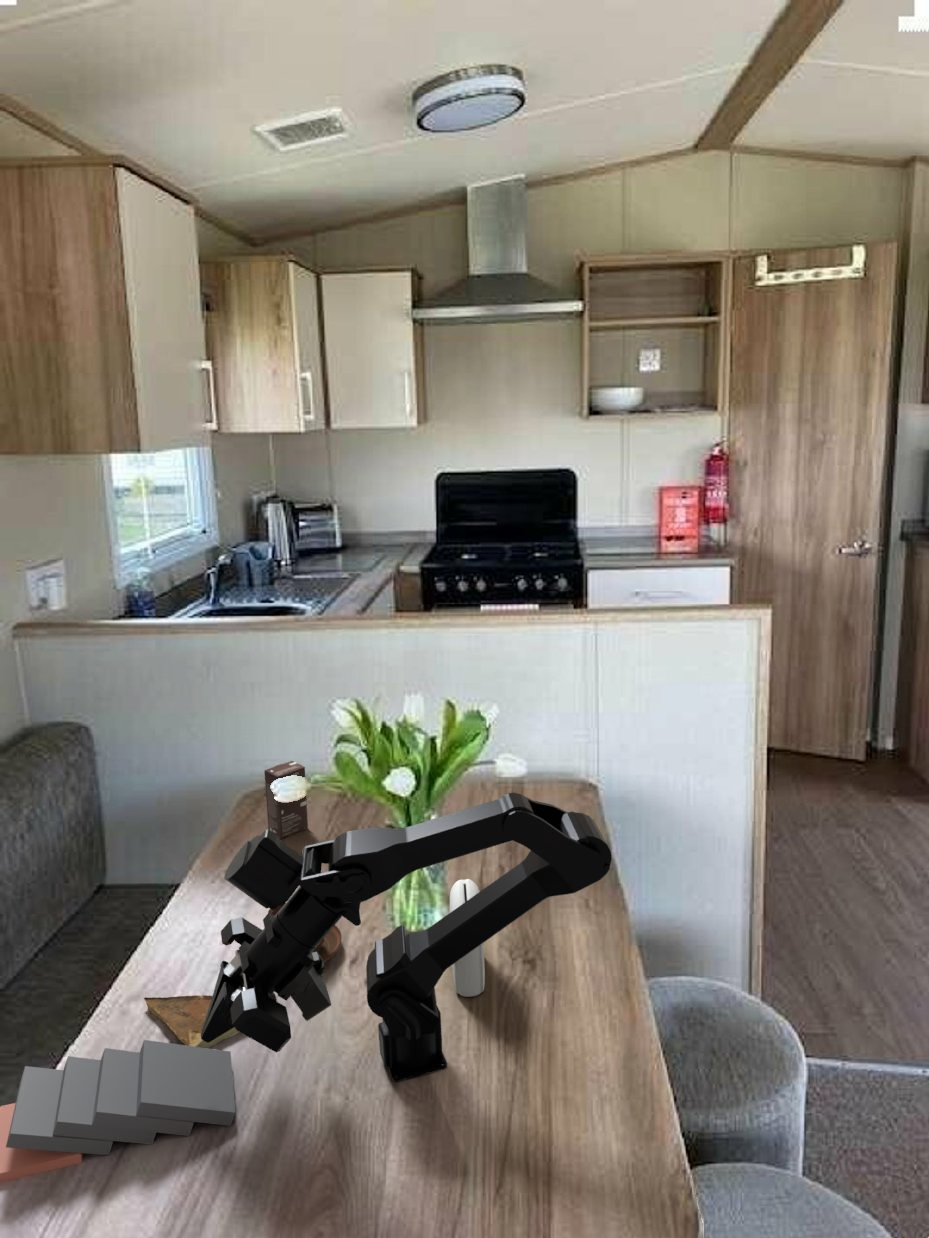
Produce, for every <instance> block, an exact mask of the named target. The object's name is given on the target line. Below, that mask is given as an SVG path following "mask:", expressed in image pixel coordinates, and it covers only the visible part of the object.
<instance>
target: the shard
mask: <svg viewBox="0 0 929 1238" xmlns="http://www.w3.org/2000/svg"><path fill="white" fill-rule="evenodd" d="M212 996H213V995H198V994H197V995H195V994H194V995H184V996H183V995H179V996H168V997H167V996H166V997H165V996H164V997H160V996H159V997H147V996H146V997H143V999H144V1001H145V1004H146V1006H147V1010H149V1012H151V1013H152V1014H153V1015H154V1016H156V1017H157V1018H159V1019H160V1020H161V1021H162V1022H163V1023H164V1024H165V1025H166V1026H168V1027H169V1029H170V1031H172V1032H173V1033H174V1034H175V1036H176V1037H177V1039H178V1040H179V1041H180V1042H181V1043H182V1044H183V1045H186V1046H194V1047H201V1048H209V1049H210V1048H211V1047H213V1046H214V1045H216V1044H217V1043H219V1042H220V1041H221V1042H222V1040H223V1041H224V1040H225V1039H228V1038H230V1037H232V1036H235V1035H237V1034H239V1033H240V1032H239V1031H237V1030H236V1029H235V1027H234V1028H232V1029H231V1030H229V1031H227V1032H226V1033H224V1034H222V1035H221V1036H219V1037H218V1038H216V1039H214V1040H213V1041H211V1042H209V1043H207V1042H205V1041H203V1040H202V1039H201V1032H202V1028H203V1025H204V1022H205V1019H206V1016H207V1012H208V1009H209V1006H210V1003H211V999H212Z"/></svg>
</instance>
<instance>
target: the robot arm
mask: <svg viewBox="0 0 929 1238" xmlns="http://www.w3.org/2000/svg"><path fill="white" fill-rule="evenodd" d="M596 823H597V822H596V821H595V820H594V819H593V818H592V817H591V816H590V815H587V814H585V813H583V812H575V811H569V812H568V811H567V810H564V809H561V808H560V807H558V806H556V805H554V804H550V803H546V802H543V801H538V800H534V799H531V798H529V797H528V796H527V797H526V796H524V794H523V795H522V794H520V793H518V792H508V793H506V794H504V795H502V796H501V797H500V798H498V799H494V800H491V801H489V802H485V803H481V804H478V805H475V806H471V807H468V808H465V809H461V810H458V811H456V812H452V813H449V814H446V815H445V814H444V815H442V816H439V817H436V818H432V819H428V820H426V821H423V822H420V823H415V824H413V825H410V826H407V827H401V828H389V827H380V826H373V827H367V828H360V829H353V830H348V831H345V832H343V833H340V834H339V835H338V836H337V837H336V838H335V839H332V840H331V839H330V840H327V841H326V840H325V841H322V842H317V843H314V844H309V845H305V846H303V848H302V852H301V853H302V854H300V853H298V852H297V851H296V850H294V849H293V848H292V847H290V846H289V845H288V844H286V843H285V842H284V841H282V840H281V838H279V837H278V836H277V835H276V834H274V833H273V832H272V831H270V830H269V829H265V830H264V831H263V832H262V833H261V835H256V836H255V837H253V838H252V839H251V840H247V841H246V842H245V844H243V845H242V847H240V849H239V850H238V852H237V853H236V854H235V855H234V857H233V858H232V860H231V862H230V863H229V865H228V866H227V869H226V871H225V874H224V877H223V878H224V880H226V881H227V882H228V883H230V884H231V885H232V886H234V887H235V888H236V889H238V890H239V891H241V892H242V893H244V895H247V896H248V897H249V898H251V899H252V900H254V901H255V902H256V903H257V904H259V905H260V906H262V907H263V908H264V909H271V910H274V909H276V908H277V907H278V906H282V905H283V904H284V903H285V905H284V906H283V907H282V908H281V909H280V911H279V912H278V913H277V914H276V915H275V916H273V915H272V914H270V913H268V912H267V914H266V915H265V917H263V919H262V922H263V926H264V927H263V929H262V928H260V927H258V926H256V924H253V923H251V922H250V921H249V920H247V919H245V918H244V917H237V918H231V919H230V920H229V921H228V922H227V923H226V925H225V926H224V927H223V928H222V929H221V930H220V937H221V943H222V945H224V946H229V945H232V944H233V943H234V942H235V943H237V944H239V945H240V946H239V947H238V949H237V950H235V951H234V952H235V956H234V957H233V958H232V959H231V960H230V961H229V962H228V961H226V960H222V961H221V963H220V969H219V972H218V976H217V979H216V984H215V985H214V990H213V993H212V995H211V996H212V999H211V1003H210V1006H209V1009H208V1012H207V1016H206V1019H205V1022H204V1025H203V1028H202V1032H201V1039H202V1040H203V1041H205V1042H207V1043H209V1042H211V1041H213V1040H214V1039H216V1038H218V1037H219V1036H221V1035H222V1034H224V1033H226V1032H227V1031H229V1030H231V1029H232V1028H234V1027H235V1029H236V1030H237V1031H239V1033H241V1034H243V1035H244V1036H246V1037H248V1038H250V1039H251V1040H253V1041H255V1042H257V1043H259V1044H261V1045H262V1046H264V1047H265V1048H267V1049H269V1050H271V1051H272V1052H275V1053H279V1052H281V1050H283V1048H284V1047H285V1046H286V1044H288V1042H289V1041H290V1040H291V1038H292V1031H291V1024H290V1019H289V1015H288V1010H287V1006H285V1005H284V1004H282V1003H280V1002H278V1000H277V996H278V997H279V998H281V999H283V1000H284V1001H286V1002H287V1001H288V1000H289V998H290V997H291V999H292V1000H293V1002H294V1003H295V1005H296V1006H297V1007H298V1009H299V1010H300V1011H301V1013H302V1014H301V1015H302V1018H303V1019H304V1020H305V1021H306V1022H308V1021H310V1020H311V1019H313V1018H314V1017H316V1016H317V1015H319V1014H320V1013H322V1012H324V1011H325V1010H326V1009H328V1008H330V1007H331V1006H332V1002H331V1001H332V1000H331V998H330V995H329V991H328V988H327V985H326V983H325V981H324V978H323V976H322V974H323V972H324V971H325V970H326V966H325V962H323V959H322V958H321V956H320V955H319V953H318V952H313V950H314V949H315V948H316V947H317V946H318V944H319V943H320V942H321V941H322V940H323V939H324V937H325V936H326V935H327V934H328V933H329V931H330V930H331V929H332V928H333V927H334V925H337V923H338V922H339V921H340V920H341V918H342V917H343V918H344V919H346V920H347V921H349V922H350V923H351V924H352V925H354V926H355V927H359V926H360V925H361V924H362V920H361V916H360V914H361V913H360V910H361V909H360V908H361V903H363V902H366V901H368V900H370V899H372V898H374V897H376V896H378V895H380V894H382V893H384V892H387V891H388V890H391V888H393V887H394V886H396V884H397V883H399V882H400V881H401V880H403V879H404V878H405V877H406V876H408V875H410V874H411V873H413V872H415V871H418V870H421V869H425V868H428V867H432V866H434V865H438V864H441V863H444V862H448V861H452V860H454V859H456V858H460V857H463V856H467V855H469V854H473V853H477V852H479V851H483V850H487V849H489V848H492V847H496V846H499V845H502V844H505V843H508V842H515V843H517V844H520V845H522V846H524V847H525V848H526V849H528V850H530V851H529V852H528V853H527V854H526V857H525V858H524V859H523V860H522V861H521V862H520V863H519V864H516V865H515V866H514V867H513V868H511V869H510V870H508V871H507V872H505V873H504V874H502V875H501V876H499V878H498V879H496V880H494V881H493V882H491V883H490V884H489V885H487V886H486V887H484V888H483V889H481V890H479V891H480V892H479V893H477V894H476V895H475V896H473V897H472V898H470V899H469V900H468V901H466V902H465V903H463V904H462V905H461V906H459V907H458V908H456V909H455V910H454V911H452V912H451V913H450V912H449V913H448V914H446V915H445V916H444V917H442V918H441V919H439V920H438V921H437V922H435V923H434V924H432V925H431V926H429V927H428V928H426V929H425V930H422V931H416V932H408V930H407V928H406V927H405V925H403V924H400V925H399V926H397V927H396V928H395V929H394V930H393V931H392V932H391V933H389V934H388V935H387V936H386V937H384V938H382V939H379V940H378V939H377V940H375V941H374V948H373V950H371V951H370V953H369V954H368V957H367V961H366V968H365V969H366V1001H367V1005H368V1007H369V1009H370V1010H371V1012H372V1013H374V1014H375V1015H376V1016H378V1017H379V1018H382V1019H381V1020H382V1022H379V1023H378V1025H377V1030H378V1043H379V1054H380V1057H381V1060H382V1063H383V1065H384V1067H385V1068H387V1069H388V1071H389V1074H390V1078H391V1080H392V1081H393V1082H401V1081H403V1080H408V1079H411V1078H415V1077H419V1076H423V1075H427V1074H431V1073H435V1072H438V1071H442V1070H445V1069H447V1068H448V1062H447V1059H446V1057H445V1055H444V1053H443V1039H442V1038H443V1037H442V1036H443V1035H442V1019H441V1018H442V1017H441V1011H440V1009H439V1007H438V1005H437V996H436V989H435V987H436V985H437V984H438V982H439V981H440V979H441V978H442V976H443V974H444V973H445V972H446V970H447V969H449V968H450V967H451V966H452V965H453V964H454V963H455V962H457V961H458V960H460V959H461V958H463V957H464V956H465V955H467V954H468V953H470V952H471V951H472V950H474V949H475V948H477V947H478V946H480V945H481V944H482V943H485V942H487V941H488V940H489V939H491V938H492V937H493V936H496V934H498V933H499V932H501V931H503V929H506V927H509V925H511V924H512V923H514V922H516V920H518V919H519V918H520V917H522V916H523V915H525V914H526V913H528V912H530V911H531V910H532V909H533V908H535V907H537V905H539V904H540V903H542V902H543V901H545V900H546V899H548V898H552V897H557V896H564V895H571V894H572V895H573V894H575V893H578V892H579V891H582V890H584V889H586V888H587V887H590V886H592V885H594V884H595V883H598V882H599V881H601V880H602V879H603V878H604V877H605V876H607V875H608V873H609V872H610V871H611V864H612V857H613V856H612V851H611V849H610V847H609V845H608V843H607V842H606V840H605V838H604V836H603V834H602V832H601V830H600V829H599V827H598V825H597V824H596ZM322 864H326V865H327V864H328V869H327V871H325V872H322V866H323V865H322ZM312 952H313V953H312ZM276 994H277V995H276Z"/></svg>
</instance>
